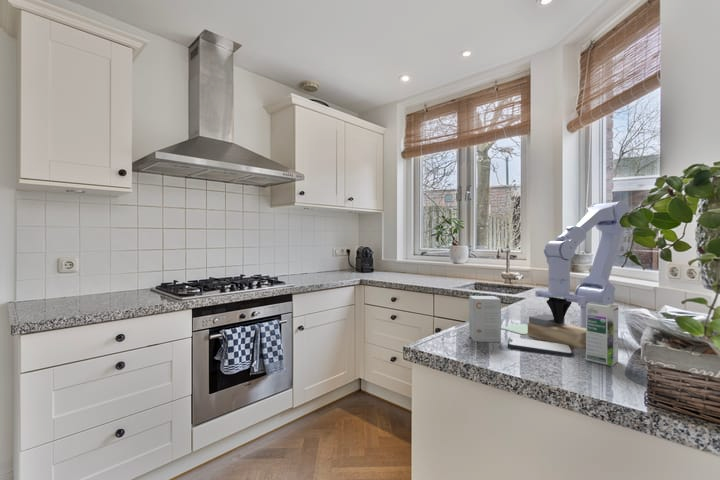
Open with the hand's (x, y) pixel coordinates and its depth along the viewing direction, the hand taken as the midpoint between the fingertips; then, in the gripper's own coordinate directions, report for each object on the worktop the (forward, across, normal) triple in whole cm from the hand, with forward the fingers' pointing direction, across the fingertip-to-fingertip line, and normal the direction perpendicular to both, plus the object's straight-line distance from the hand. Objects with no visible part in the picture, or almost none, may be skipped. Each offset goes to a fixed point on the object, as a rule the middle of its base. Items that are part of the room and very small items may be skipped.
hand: (558, 323), depth 105 cm
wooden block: (+5, 0, 0) cm, 5 cm away
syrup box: (+5, +17, -9) cm, 20 cm away
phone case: (+6, +3, -14) cm, 15 cm away
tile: (+1, -4, 0) cm, 4 cm away
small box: (+5, -10, -21) cm, 24 cm away
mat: (+5, -13, 0) cm, 14 cm away
